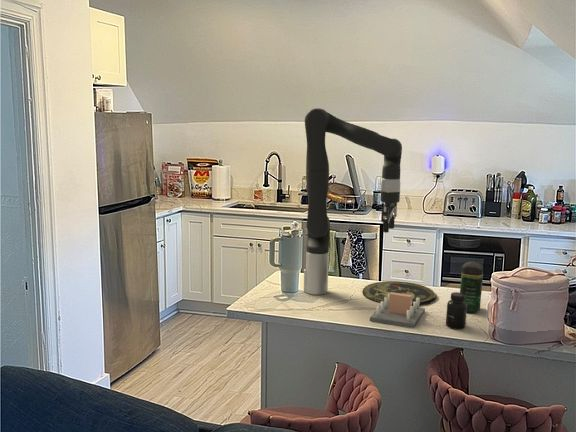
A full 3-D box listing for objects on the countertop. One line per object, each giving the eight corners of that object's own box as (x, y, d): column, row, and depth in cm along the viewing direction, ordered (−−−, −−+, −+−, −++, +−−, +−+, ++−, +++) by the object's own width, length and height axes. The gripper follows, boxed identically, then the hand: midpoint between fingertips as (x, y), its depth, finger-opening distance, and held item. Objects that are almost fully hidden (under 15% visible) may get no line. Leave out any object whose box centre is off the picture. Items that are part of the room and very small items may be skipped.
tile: (388, 312, 222) (389, 293, 221) (390, 310, 224) (391, 292, 223) (410, 315, 219) (411, 297, 218) (411, 313, 221) (412, 295, 220)
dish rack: (369, 320, 217) (370, 306, 216) (383, 305, 234) (384, 292, 233) (413, 328, 210) (414, 313, 209) (424, 311, 227) (425, 298, 226)
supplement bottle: (444, 328, 211) (446, 295, 209) (446, 322, 217) (448, 290, 215) (464, 331, 208) (467, 298, 206) (466, 324, 215) (468, 292, 213)
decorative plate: (376, 277, 268) (443, 287, 254) (376, 281, 268) (443, 291, 254) (351, 295, 241) (425, 308, 228) (351, 300, 242) (425, 312, 228)
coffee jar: (479, 315, 225) (482, 267, 222) (457, 312, 228) (460, 264, 225) (481, 307, 234) (484, 261, 231) (460, 304, 237) (463, 259, 233)
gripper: (385, 187, 243) (383, 226, 246) (376, 191, 230) (374, 232, 233) (404, 188, 240) (402, 228, 243) (395, 192, 227) (393, 234, 230)
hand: (388, 230), depth 238 cm, fingers open, 8 cm apart
